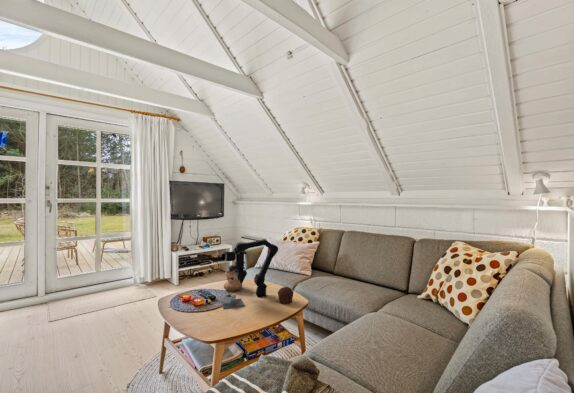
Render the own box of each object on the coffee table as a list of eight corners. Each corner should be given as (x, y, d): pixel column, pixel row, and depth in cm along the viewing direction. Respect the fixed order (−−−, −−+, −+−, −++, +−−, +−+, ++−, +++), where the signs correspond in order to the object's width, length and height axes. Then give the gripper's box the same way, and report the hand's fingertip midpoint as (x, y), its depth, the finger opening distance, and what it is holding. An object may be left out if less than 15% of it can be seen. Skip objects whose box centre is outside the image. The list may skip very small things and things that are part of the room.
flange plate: (240, 299, 205) (240, 292, 205) (244, 306, 193) (244, 298, 193) (220, 302, 200) (220, 295, 200) (223, 309, 189) (223, 301, 188)
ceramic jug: (232, 294, 215) (232, 275, 215) (218, 290, 223) (218, 272, 223) (248, 287, 230) (248, 270, 230) (235, 284, 238) (235, 267, 238)
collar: (235, 302, 197) (235, 295, 197) (230, 305, 192) (230, 298, 192) (228, 300, 200) (228, 293, 200) (223, 304, 194) (223, 296, 194)
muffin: (283, 297, 209) (283, 284, 209) (296, 301, 203) (296, 287, 203) (274, 302, 199) (274, 288, 199) (287, 306, 193) (287, 291, 193)
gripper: (226, 258, 213) (226, 279, 213) (231, 264, 195) (230, 287, 196) (241, 257, 217) (241, 277, 217) (247, 263, 199) (247, 285, 200)
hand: (240, 281), depth 207 cm, fingers open, 9 cm apart
